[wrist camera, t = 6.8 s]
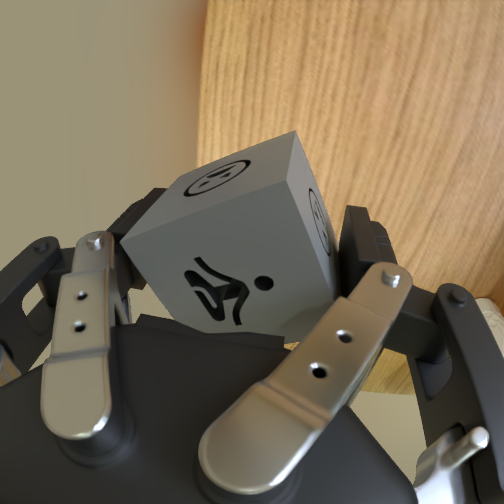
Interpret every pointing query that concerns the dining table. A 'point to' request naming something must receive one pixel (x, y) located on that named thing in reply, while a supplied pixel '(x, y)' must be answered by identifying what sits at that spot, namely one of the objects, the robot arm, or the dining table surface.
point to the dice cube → (242, 244)
